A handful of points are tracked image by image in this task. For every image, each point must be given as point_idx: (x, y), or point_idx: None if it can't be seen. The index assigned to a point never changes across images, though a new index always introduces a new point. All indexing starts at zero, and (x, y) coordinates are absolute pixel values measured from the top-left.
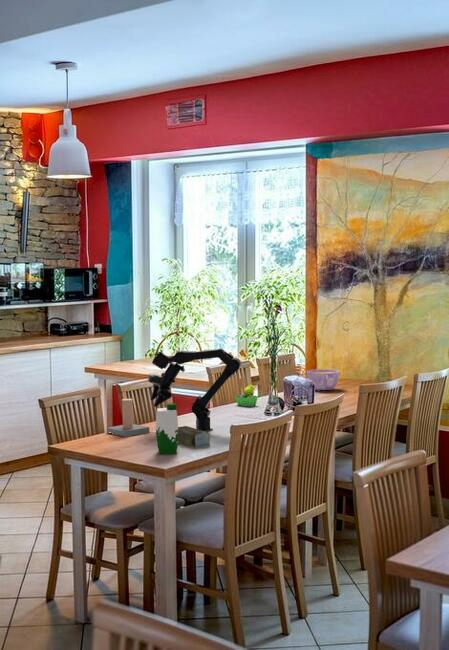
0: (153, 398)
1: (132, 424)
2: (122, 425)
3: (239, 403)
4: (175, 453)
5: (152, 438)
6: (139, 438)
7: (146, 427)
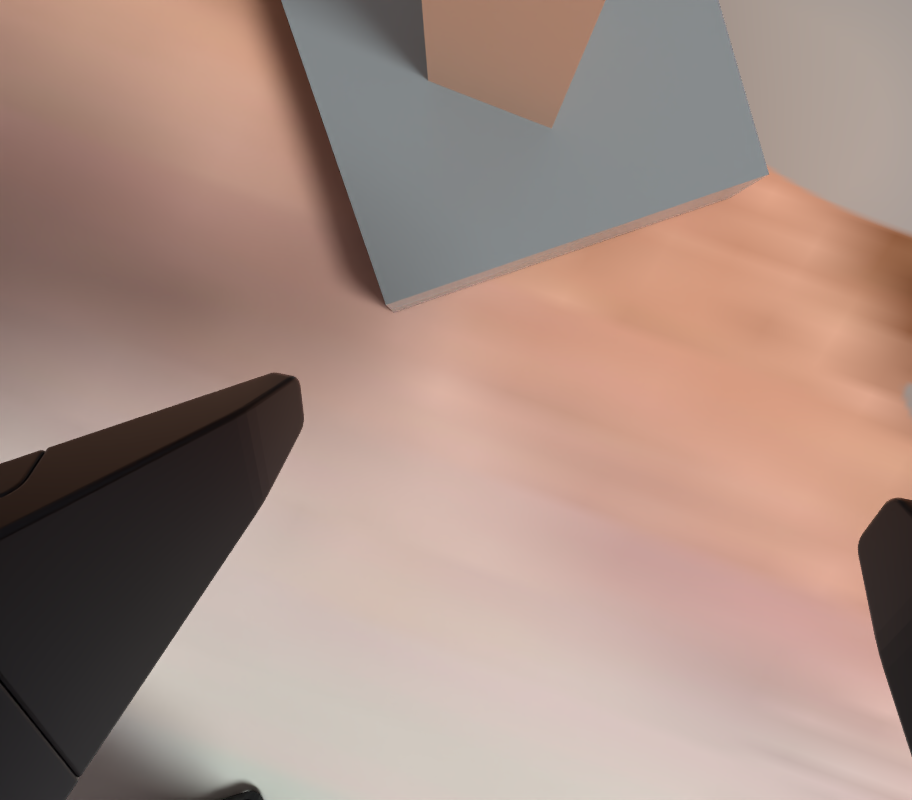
0: (890, 600)
1: (426, 47)
2: (691, 18)
3: None
4: None
5: (39, 221)
6: (109, 86)
7: (380, 261)
